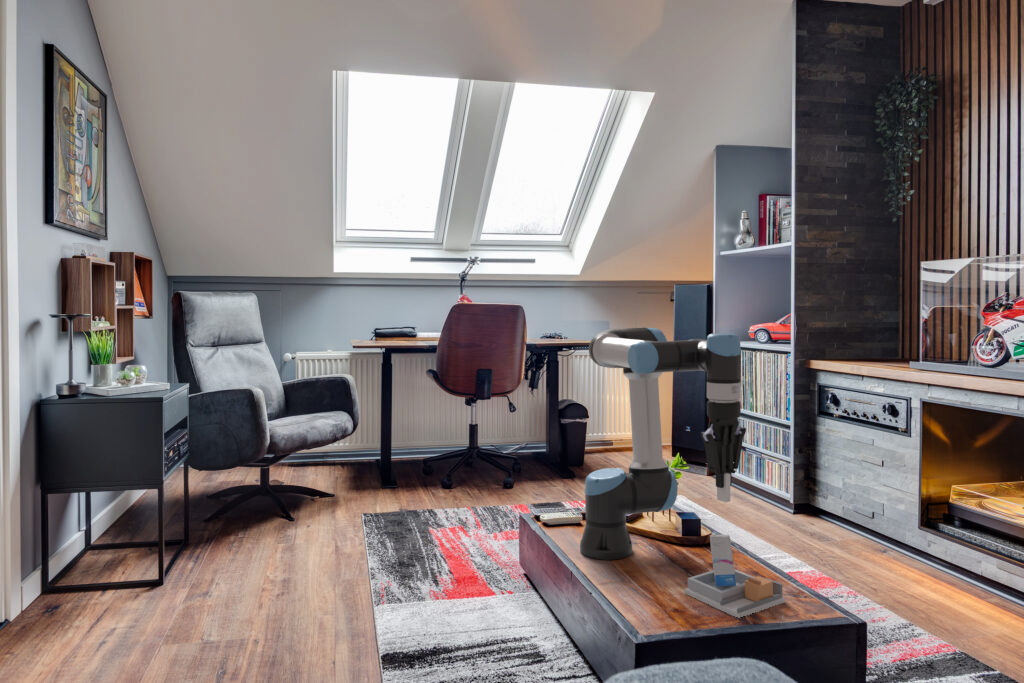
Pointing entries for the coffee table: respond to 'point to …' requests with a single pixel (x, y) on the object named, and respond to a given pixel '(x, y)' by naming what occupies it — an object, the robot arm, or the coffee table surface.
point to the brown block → (758, 588)
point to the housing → (731, 594)
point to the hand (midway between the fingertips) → (723, 500)
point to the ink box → (722, 560)
